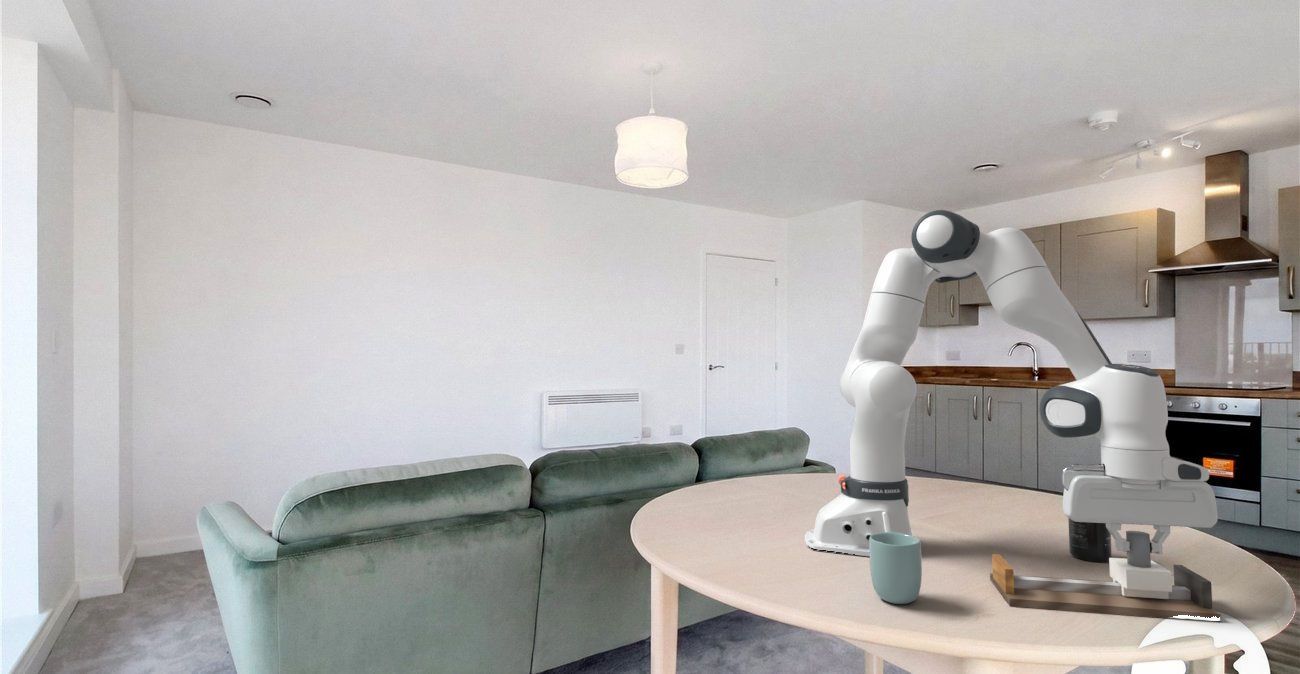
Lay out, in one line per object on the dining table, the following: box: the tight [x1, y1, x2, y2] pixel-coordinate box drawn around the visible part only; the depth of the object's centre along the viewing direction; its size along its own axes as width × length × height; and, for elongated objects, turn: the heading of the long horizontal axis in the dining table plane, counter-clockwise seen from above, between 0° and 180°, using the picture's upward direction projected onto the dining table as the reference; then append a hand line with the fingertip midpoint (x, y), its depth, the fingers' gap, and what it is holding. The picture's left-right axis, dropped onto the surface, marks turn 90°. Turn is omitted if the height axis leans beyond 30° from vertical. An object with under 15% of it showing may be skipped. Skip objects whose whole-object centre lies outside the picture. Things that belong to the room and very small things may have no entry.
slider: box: [1108, 530, 1173, 599], centre depth 101 cm, size 6×6×10 cm
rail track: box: [989, 553, 1222, 619], centre depth 103 cm, size 28×12×5 cm, turn 75°
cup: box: [869, 532, 923, 605], centre depth 104 cm, size 8×8×10 cm
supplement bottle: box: [1067, 517, 1113, 563], centre depth 124 cm, size 7×7×12 cm
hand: (1138, 551), depth 101 cm, fingers closed on slider, 3 cm apart
